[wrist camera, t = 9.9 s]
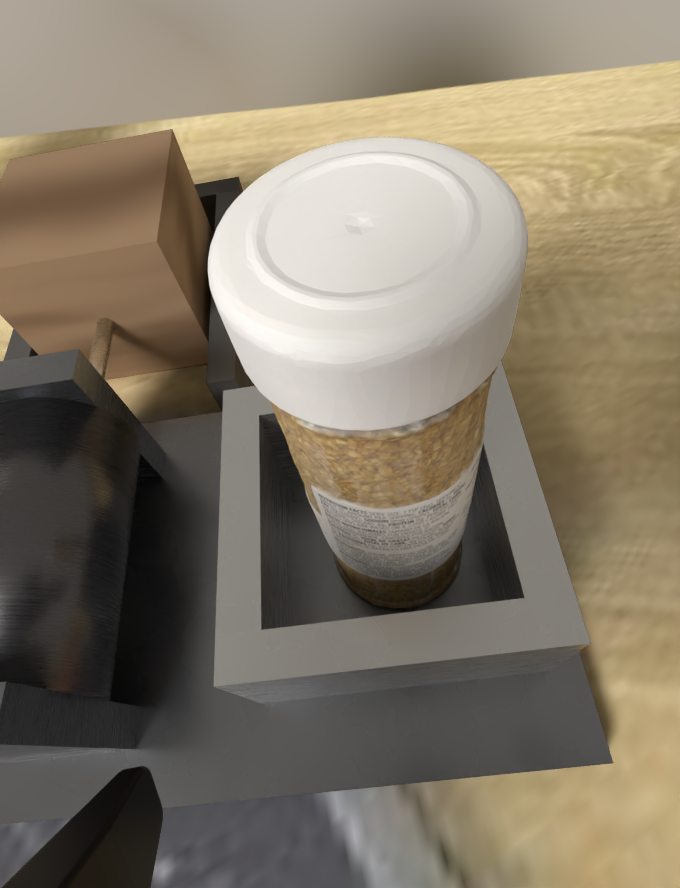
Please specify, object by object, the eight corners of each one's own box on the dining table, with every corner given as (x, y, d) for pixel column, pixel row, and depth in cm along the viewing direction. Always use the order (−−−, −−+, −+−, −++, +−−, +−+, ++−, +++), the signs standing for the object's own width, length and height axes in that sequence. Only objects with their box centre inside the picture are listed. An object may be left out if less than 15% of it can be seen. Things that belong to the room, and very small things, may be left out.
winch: (602, 762, 16) (728, 765, 9) (-7, 823, 17) (-267, 862, 11) (467, 304, 25) (483, 151, 19) (87, 364, 27) (-19, 240, 20)
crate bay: (250, 411, 24) (193, 295, 18) (22, 445, 25) (-106, 345, 19) (250, 215, 31) (210, 86, 25) (74, 245, 32) (-6, 127, 26)
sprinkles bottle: (350, 479, 20) (258, 120, 9) (472, 500, 19) (547, 122, 8) (318, 597, 18) (144, 327, 7) (453, 628, 17) (518, 370, 6)
